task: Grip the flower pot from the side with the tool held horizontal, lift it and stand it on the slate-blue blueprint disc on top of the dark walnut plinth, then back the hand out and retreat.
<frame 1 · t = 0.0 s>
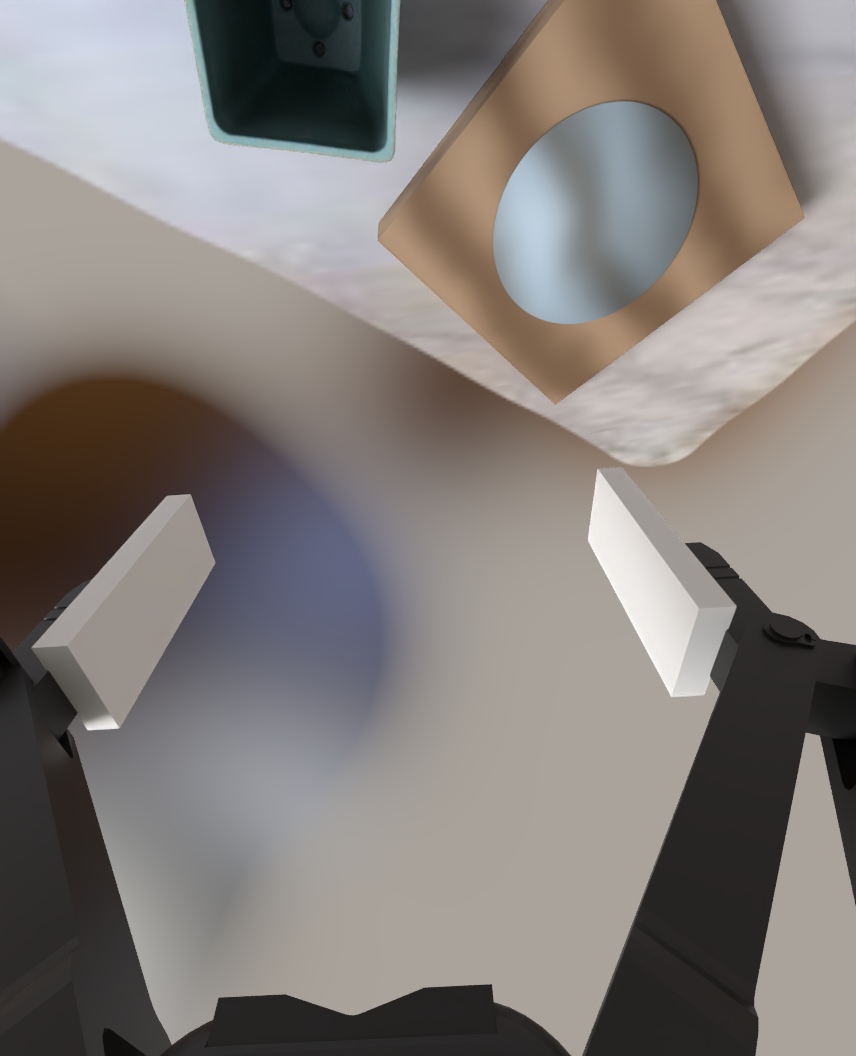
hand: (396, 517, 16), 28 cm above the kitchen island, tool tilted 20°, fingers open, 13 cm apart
flower pot: (316, 3, 26), on the kitchen island
walnut plinth: (580, 212, 34), on the kitchen island
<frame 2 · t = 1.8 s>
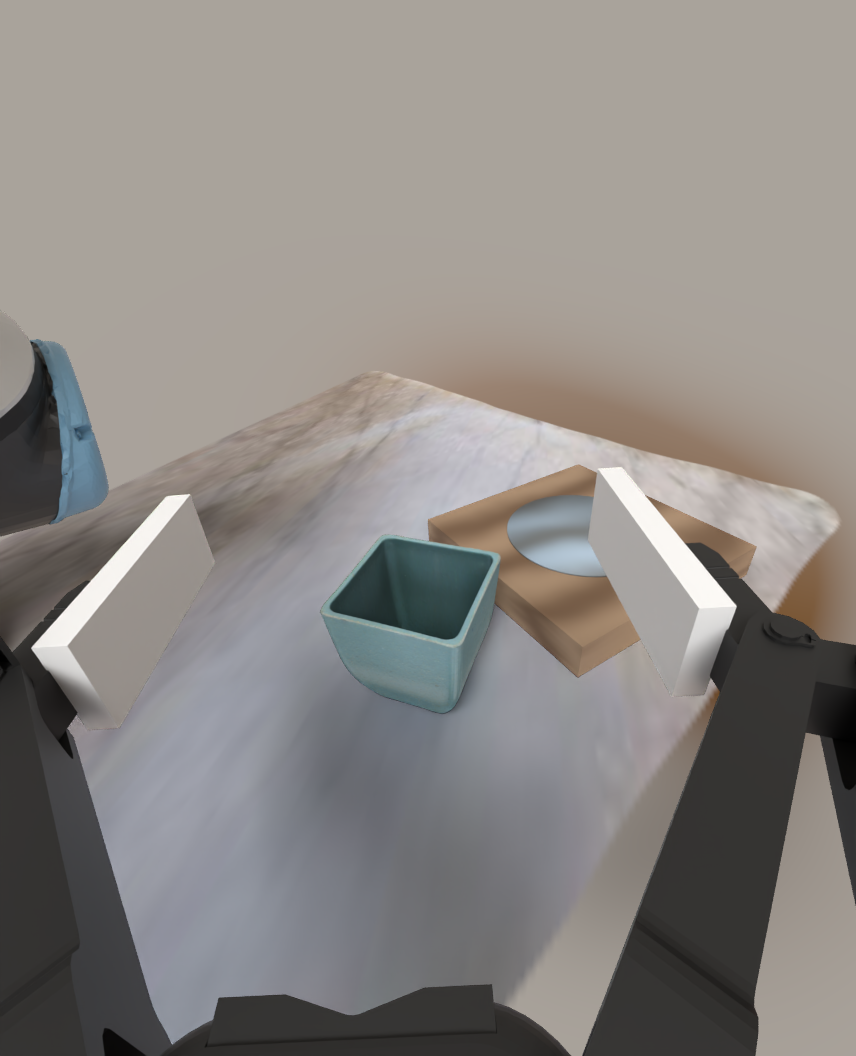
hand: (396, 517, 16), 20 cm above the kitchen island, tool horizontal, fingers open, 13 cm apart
flower pot: (423, 680, 35), on the kitchen island
walnut plinth: (576, 558, 46), on the kitchen island
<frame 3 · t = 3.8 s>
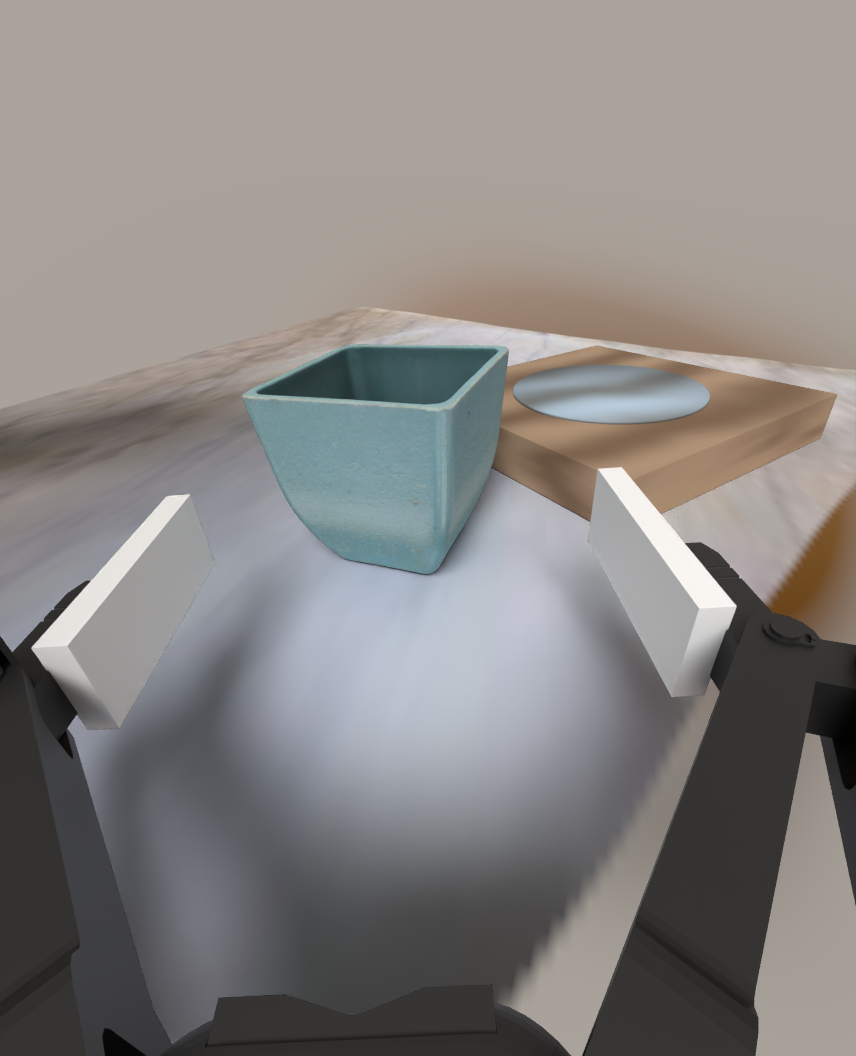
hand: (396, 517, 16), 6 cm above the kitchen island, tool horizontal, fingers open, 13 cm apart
flower pot: (403, 545, 26), on the kitchen island
walnut plinth: (600, 431, 36), on the kitchen island
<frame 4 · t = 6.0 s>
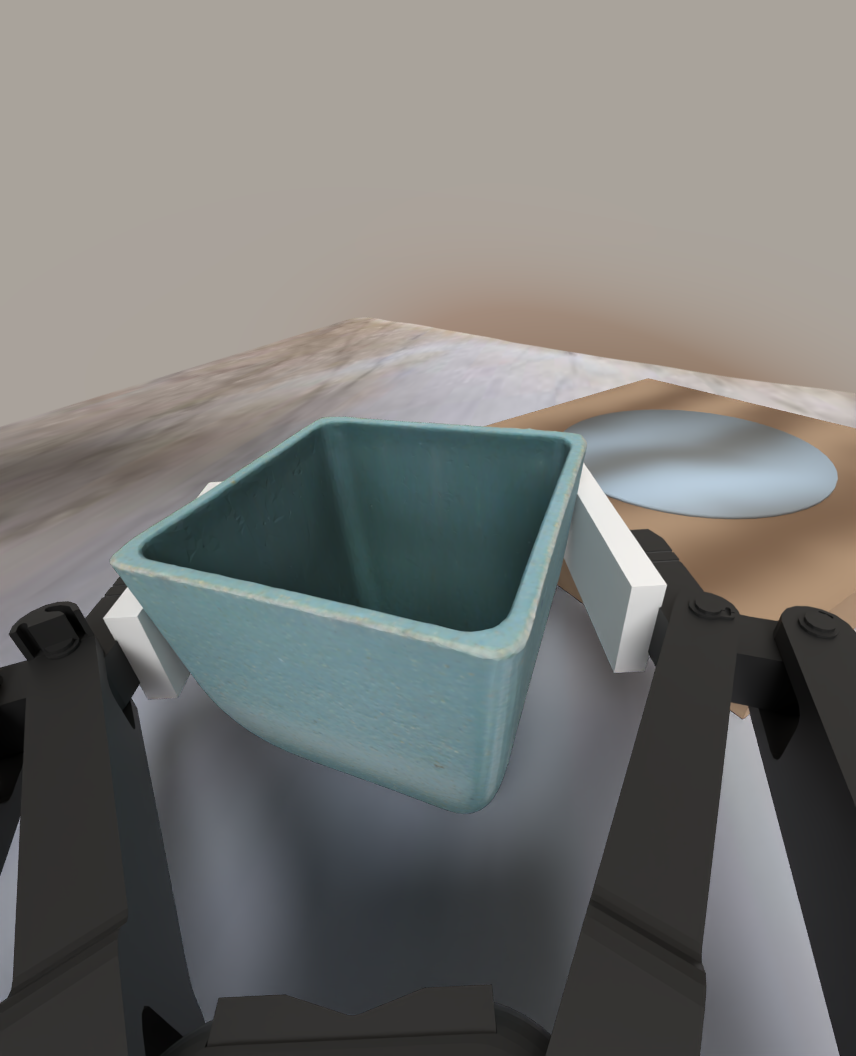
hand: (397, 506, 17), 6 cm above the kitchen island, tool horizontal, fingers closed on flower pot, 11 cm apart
flower pot: (411, 723, 17), on the kitchen island, touching gripper
walnut plinth: (670, 504, 27), on the kitchen island
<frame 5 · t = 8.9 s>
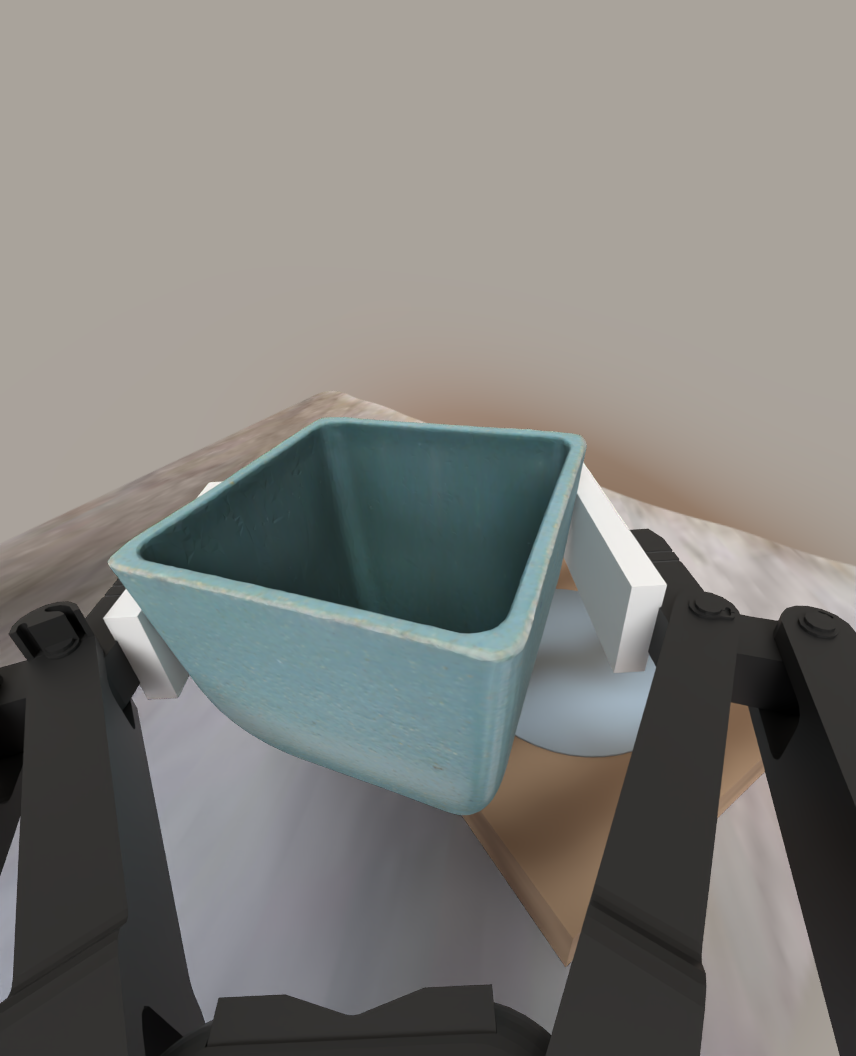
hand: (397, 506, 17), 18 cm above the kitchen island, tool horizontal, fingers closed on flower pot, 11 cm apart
flower pot: (410, 724, 17), point 12 cm above the kitchen island, touching gripper
walnut plinth: (563, 691, 32), on the kitchen island
when the fingers open (11 cm above the kitchen island, at t = 12.1 s): flower pot drops 2 cm, resting on walnut plinth.
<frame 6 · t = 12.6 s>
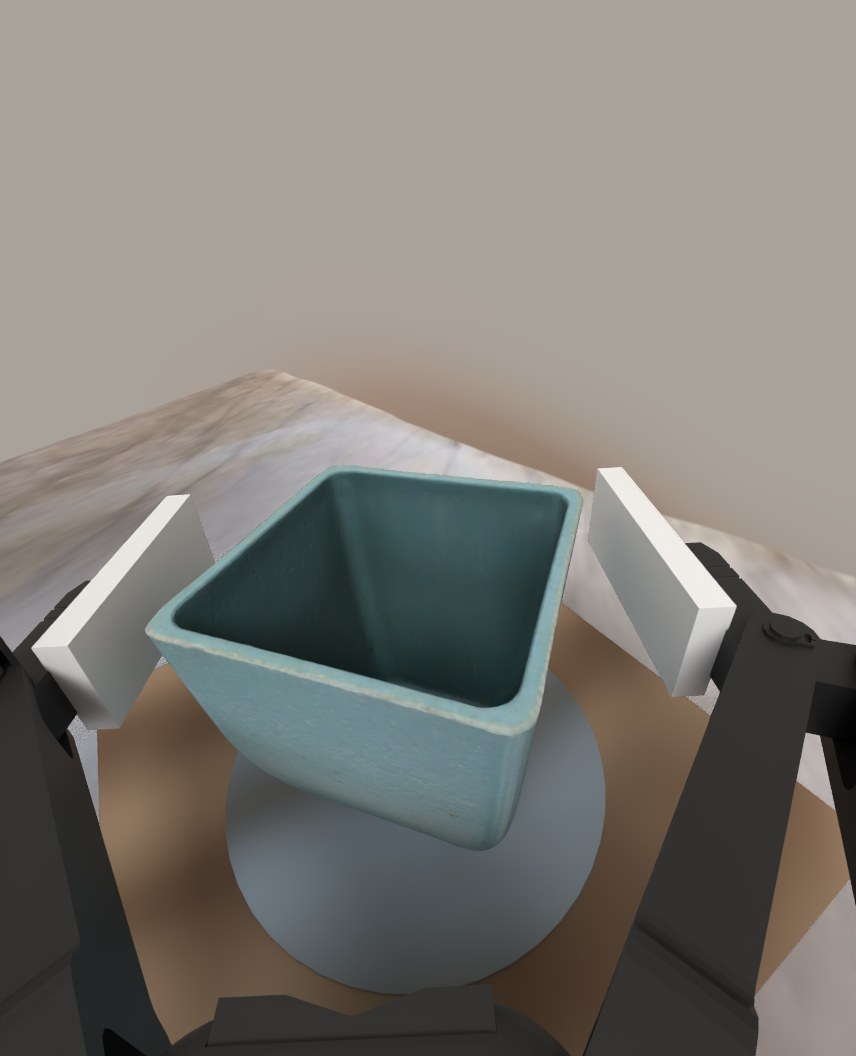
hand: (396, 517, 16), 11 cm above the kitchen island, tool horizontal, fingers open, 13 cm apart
flower pot: (418, 756, 18), point 3 cm above the kitchen island, touching walnut plinth
walnut plinth: (420, 799, 19), on the kitchen island
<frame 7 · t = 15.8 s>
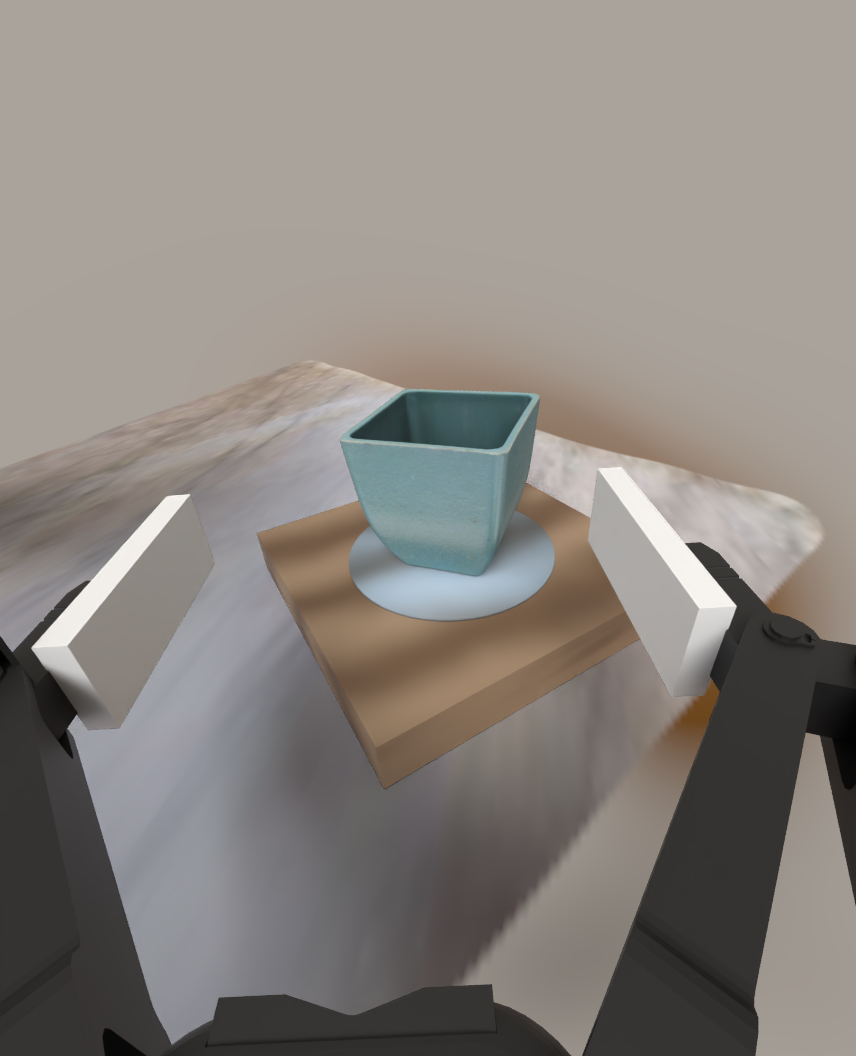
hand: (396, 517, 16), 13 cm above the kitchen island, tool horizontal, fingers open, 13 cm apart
flower pot: (452, 552, 31), point 3 cm above the kitchen island, touching walnut plinth
walnut plinth: (452, 588, 33), on the kitchen island
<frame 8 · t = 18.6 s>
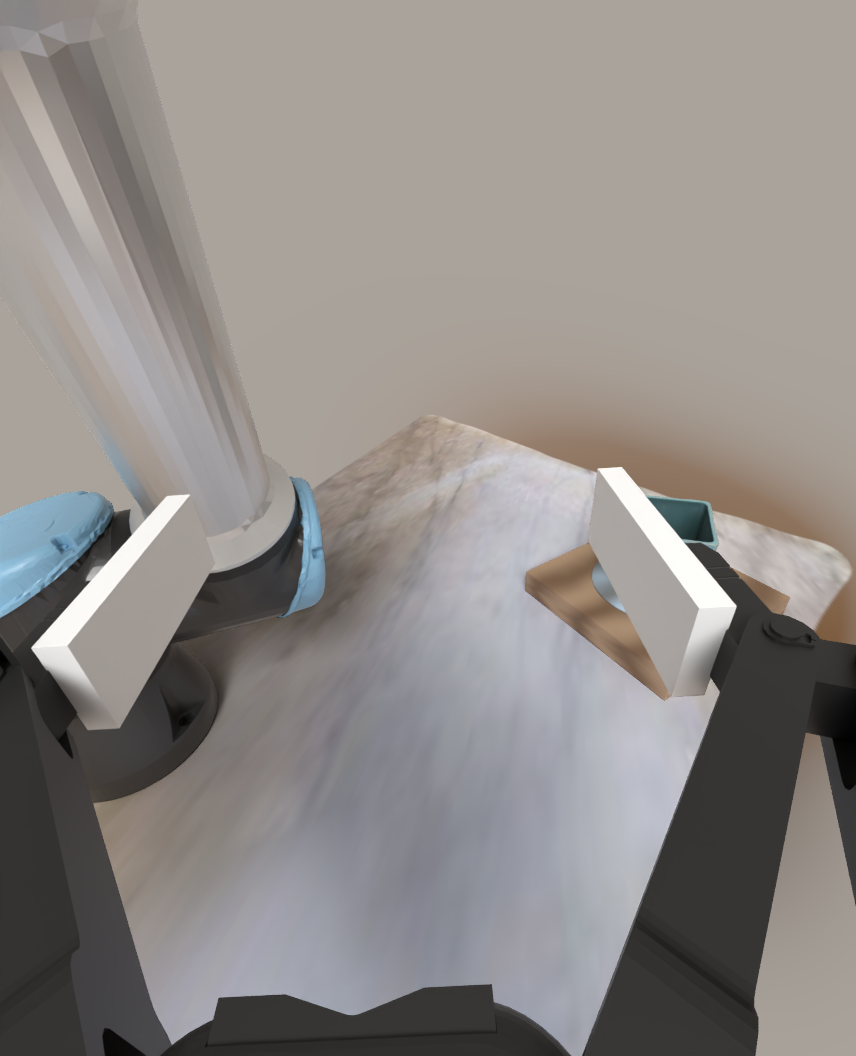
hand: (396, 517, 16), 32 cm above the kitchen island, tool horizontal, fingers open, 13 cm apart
flower pot: (652, 584, 57), point 3 cm above the kitchen island, touching walnut plinth
walnut plinth: (646, 603, 58), on the kitchen island
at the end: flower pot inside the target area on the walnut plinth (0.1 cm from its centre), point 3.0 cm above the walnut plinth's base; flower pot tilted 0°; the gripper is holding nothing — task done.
